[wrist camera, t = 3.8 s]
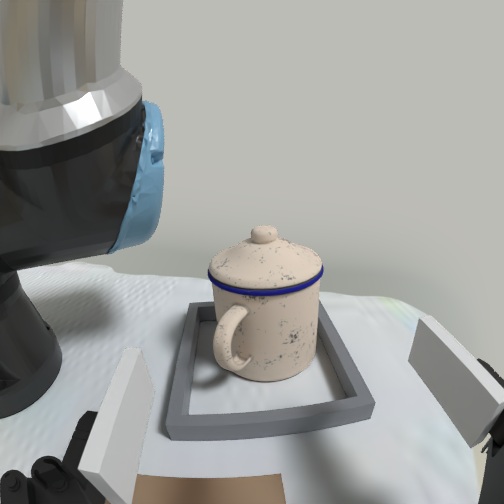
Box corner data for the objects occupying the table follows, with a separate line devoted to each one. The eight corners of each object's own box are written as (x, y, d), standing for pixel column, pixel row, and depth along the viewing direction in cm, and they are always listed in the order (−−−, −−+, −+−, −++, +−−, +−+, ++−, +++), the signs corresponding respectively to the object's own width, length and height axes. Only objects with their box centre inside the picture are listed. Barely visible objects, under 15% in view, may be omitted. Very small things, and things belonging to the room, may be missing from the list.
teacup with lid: (247, 318, 32) (240, 212, 29) (328, 334, 28) (335, 218, 25) (179, 386, 22) (149, 253, 19) (283, 424, 18) (284, 273, 15)
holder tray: (171, 440, 17) (165, 425, 16) (191, 316, 33) (189, 302, 32) (370, 418, 18) (375, 402, 17) (314, 306, 34) (315, 292, 33)
